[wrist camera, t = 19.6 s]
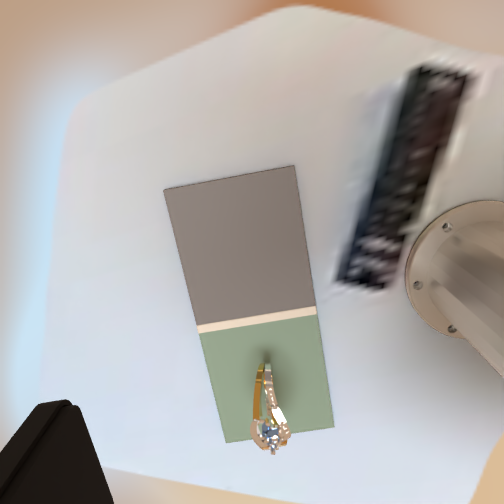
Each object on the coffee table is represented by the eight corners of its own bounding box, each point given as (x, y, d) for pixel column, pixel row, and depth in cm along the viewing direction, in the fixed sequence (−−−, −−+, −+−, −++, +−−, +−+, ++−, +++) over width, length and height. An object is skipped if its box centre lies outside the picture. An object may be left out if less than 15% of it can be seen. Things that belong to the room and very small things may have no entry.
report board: (293, 165, 35) (294, 166, 34) (333, 423, 43) (334, 428, 42) (164, 189, 36) (163, 190, 35) (226, 438, 43) (226, 443, 43)
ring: (286, 408, 42) (293, 474, 34) (253, 410, 42) (252, 475, 34) (283, 345, 39) (289, 400, 32) (249, 347, 40) (246, 402, 32)
